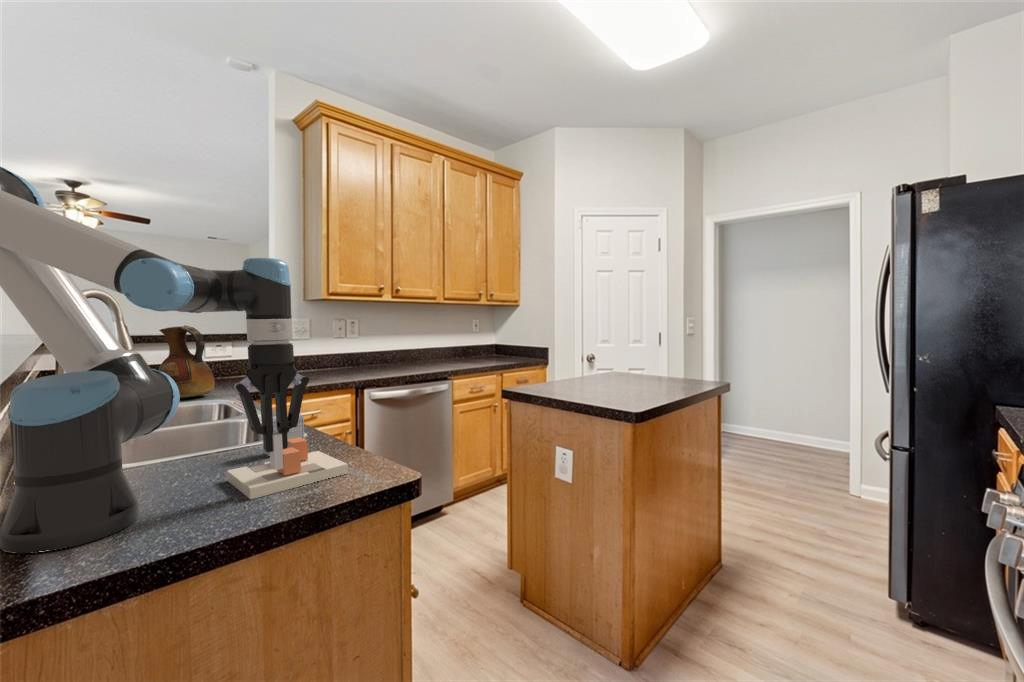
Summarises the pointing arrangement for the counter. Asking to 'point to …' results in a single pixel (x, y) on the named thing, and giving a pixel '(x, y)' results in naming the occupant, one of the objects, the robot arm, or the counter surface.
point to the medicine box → (290, 430)
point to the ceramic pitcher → (187, 363)
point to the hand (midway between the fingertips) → (276, 467)
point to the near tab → (290, 461)
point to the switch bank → (269, 481)
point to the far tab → (299, 446)
